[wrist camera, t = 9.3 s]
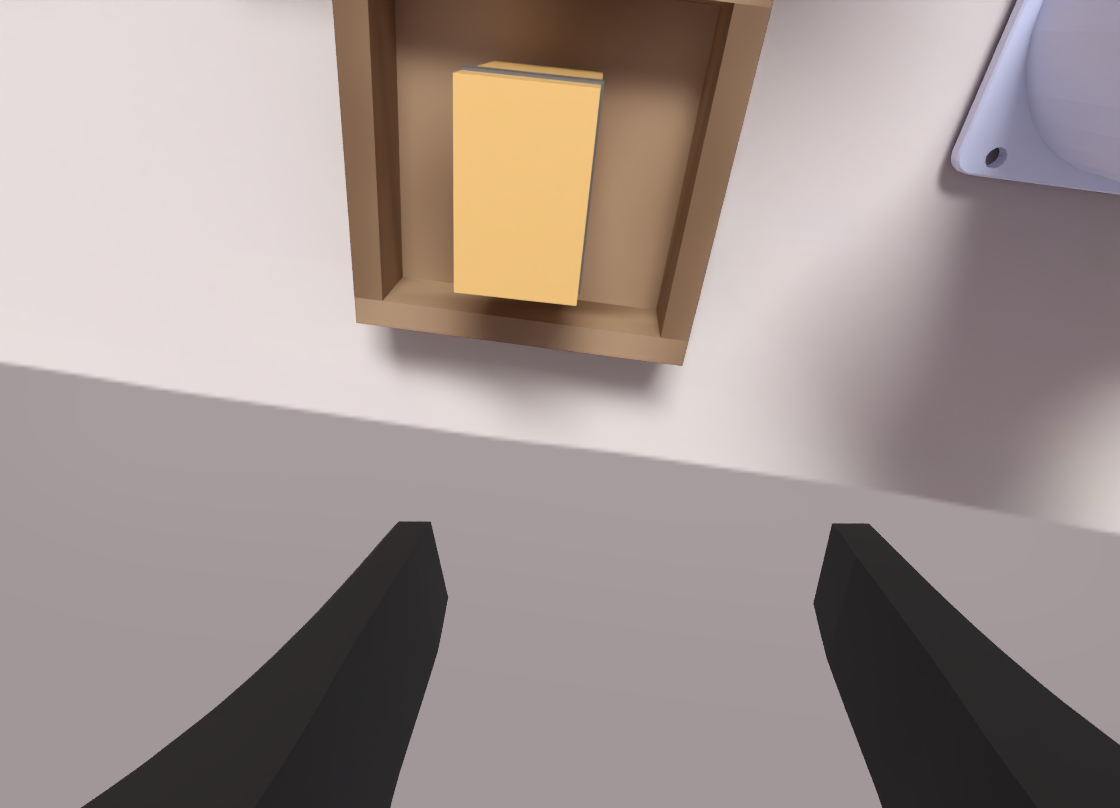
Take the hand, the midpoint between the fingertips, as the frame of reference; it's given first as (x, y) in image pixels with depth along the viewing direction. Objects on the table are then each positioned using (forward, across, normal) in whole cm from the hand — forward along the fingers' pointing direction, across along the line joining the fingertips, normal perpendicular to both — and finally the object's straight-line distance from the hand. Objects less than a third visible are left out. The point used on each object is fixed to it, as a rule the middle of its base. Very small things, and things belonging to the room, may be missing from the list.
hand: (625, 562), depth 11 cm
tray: (+10, +2, -5) cm, 12 cm away
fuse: (+10, +2, -6) cm, 11 cm away
